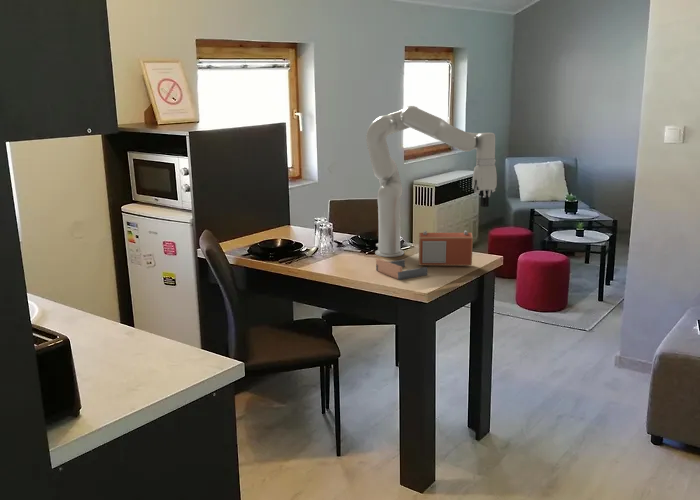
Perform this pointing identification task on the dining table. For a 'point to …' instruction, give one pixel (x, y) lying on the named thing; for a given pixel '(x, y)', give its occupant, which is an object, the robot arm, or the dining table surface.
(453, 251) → the control panel
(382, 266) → the docking guide
